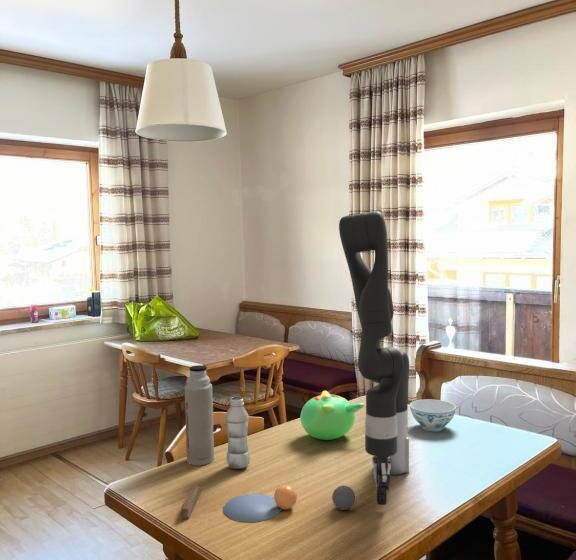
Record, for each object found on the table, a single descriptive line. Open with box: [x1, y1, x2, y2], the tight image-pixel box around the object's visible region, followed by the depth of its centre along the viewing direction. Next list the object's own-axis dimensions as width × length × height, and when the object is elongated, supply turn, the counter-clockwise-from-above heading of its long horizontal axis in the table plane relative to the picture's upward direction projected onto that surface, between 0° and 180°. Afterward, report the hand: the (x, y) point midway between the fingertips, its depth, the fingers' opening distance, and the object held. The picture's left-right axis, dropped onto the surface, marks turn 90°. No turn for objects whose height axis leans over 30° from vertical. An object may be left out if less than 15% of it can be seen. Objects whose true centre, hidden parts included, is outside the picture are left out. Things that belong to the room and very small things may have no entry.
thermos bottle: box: [184, 364, 215, 466], centre depth 166 cm, size 8×8×28 cm
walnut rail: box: [181, 485, 201, 520], centre depth 138 cm, size 2×12×2 cm, turn 177°
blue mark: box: [223, 493, 282, 523], centre depth 137 cm, size 14×14×1 cm
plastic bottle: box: [225, 396, 251, 470], centre depth 161 cm, size 6×7×20 cm
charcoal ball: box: [331, 485, 356, 511], centre depth 136 cm, size 6×6×6 cm
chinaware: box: [409, 398, 457, 432], centre depth 191 cm, size 15×15×8 cm
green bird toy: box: [299, 390, 366, 441], centre depth 183 cm, size 18×17×15 cm
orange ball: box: [273, 484, 298, 510], centre depth 136 cm, size 6×6×6 cm
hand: (381, 503), depth 135 cm, fingers closed
